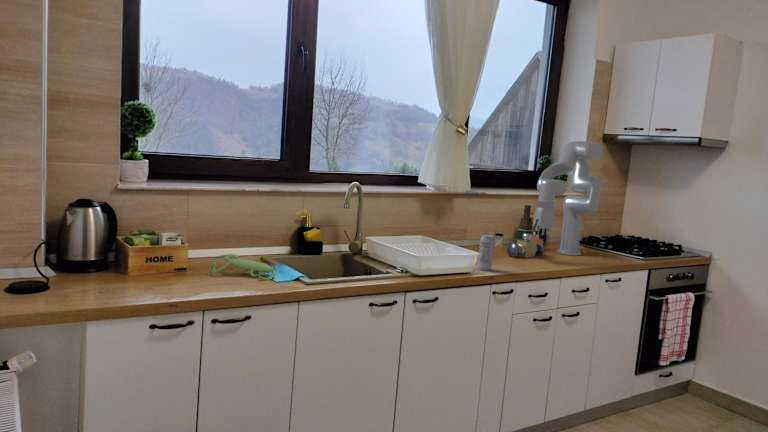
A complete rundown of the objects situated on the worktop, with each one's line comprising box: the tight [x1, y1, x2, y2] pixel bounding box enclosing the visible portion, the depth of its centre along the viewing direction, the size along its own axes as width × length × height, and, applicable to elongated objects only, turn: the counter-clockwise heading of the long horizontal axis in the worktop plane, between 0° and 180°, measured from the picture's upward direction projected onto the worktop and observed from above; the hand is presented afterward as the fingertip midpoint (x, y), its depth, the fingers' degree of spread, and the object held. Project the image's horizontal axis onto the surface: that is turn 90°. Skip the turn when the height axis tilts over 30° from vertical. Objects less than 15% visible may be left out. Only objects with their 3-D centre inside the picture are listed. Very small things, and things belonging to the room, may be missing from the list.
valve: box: [506, 239, 545, 259], centre depth 302 cm, size 20×7×9 cm, turn 125°
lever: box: [523, 233, 544, 245], centre depth 294 cm, size 4×18×2 cm, turn 10°
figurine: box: [207, 253, 277, 281], centre depth 224 cm, size 18×27×6 cm
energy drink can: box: [477, 234, 495, 272], centre depth 262 cm, size 6×6×15 cm
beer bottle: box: [515, 204, 534, 244], centre depth 321 cm, size 8×8×24 cm
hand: (541, 242), depth 292 cm, fingers closed
